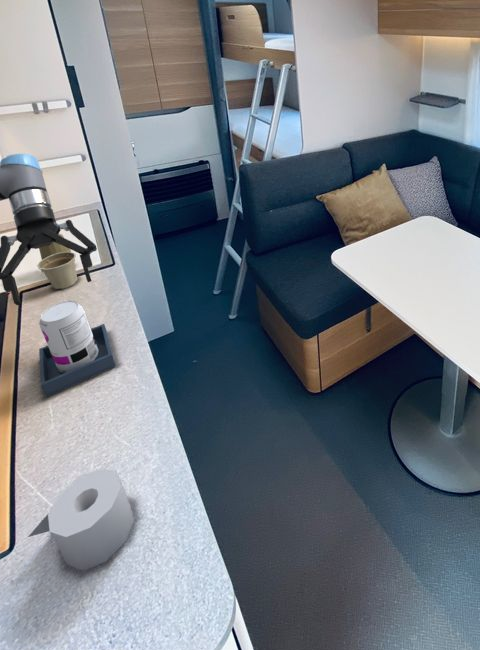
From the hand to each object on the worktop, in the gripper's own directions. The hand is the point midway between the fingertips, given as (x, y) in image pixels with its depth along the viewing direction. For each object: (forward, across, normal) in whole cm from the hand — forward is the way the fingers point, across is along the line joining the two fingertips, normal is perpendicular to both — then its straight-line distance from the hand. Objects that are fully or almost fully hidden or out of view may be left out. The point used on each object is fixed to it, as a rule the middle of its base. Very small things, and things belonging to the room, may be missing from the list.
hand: (54, 291), depth 96 cm
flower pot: (-12, 0, -37) cm, 39 cm away
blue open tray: (+17, 0, -8) cm, 18 cm away
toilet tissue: (+47, +1, +22) cm, 52 cm away
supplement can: (+16, 0, -8) cm, 18 cm away
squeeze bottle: (-19, +1, -44) cm, 48 cm away
